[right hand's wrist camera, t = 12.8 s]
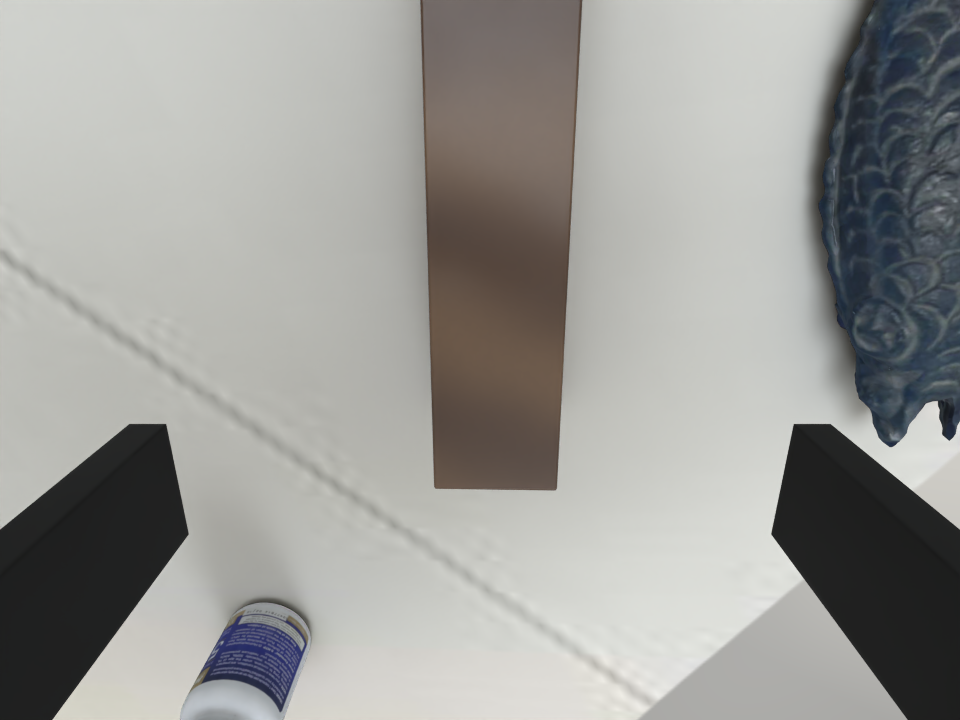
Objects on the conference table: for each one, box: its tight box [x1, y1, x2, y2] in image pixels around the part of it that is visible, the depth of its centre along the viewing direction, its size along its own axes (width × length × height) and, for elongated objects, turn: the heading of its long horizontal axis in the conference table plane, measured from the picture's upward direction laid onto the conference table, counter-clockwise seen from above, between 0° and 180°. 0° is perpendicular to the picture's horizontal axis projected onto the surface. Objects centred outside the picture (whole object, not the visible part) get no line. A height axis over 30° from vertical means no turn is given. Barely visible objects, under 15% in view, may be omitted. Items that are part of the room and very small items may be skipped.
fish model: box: [819, 0, 960, 447], centre depth 25 cm, size 7×21×5 cm, turn 8°
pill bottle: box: [180, 603, 311, 720], centre depth 33 cm, size 5×5×9 cm
